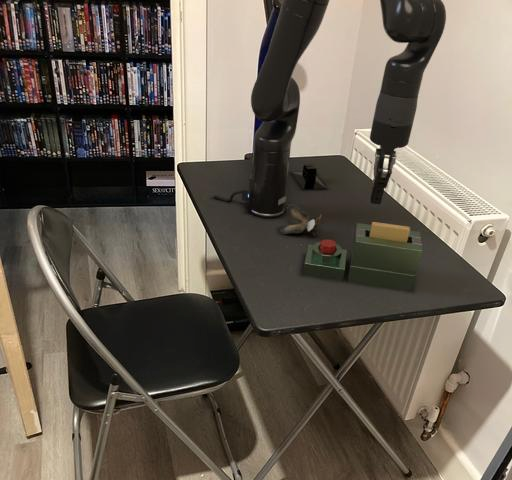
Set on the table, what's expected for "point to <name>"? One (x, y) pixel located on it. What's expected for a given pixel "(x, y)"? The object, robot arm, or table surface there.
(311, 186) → the black block on base
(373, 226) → the toast
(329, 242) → the button
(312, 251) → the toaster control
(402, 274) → the toaster
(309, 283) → the table surface
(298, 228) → the eagle figurine
